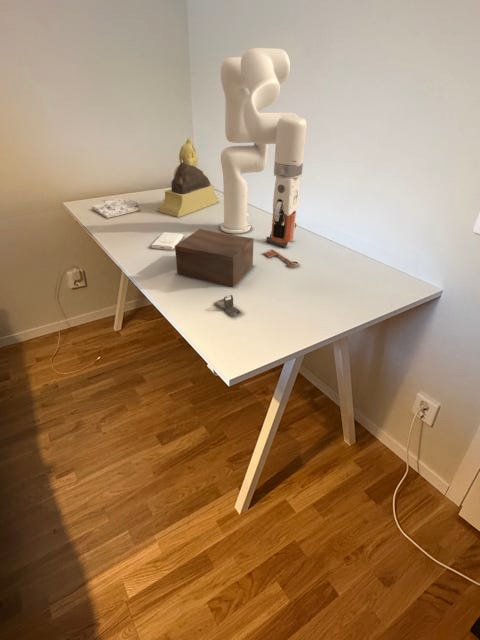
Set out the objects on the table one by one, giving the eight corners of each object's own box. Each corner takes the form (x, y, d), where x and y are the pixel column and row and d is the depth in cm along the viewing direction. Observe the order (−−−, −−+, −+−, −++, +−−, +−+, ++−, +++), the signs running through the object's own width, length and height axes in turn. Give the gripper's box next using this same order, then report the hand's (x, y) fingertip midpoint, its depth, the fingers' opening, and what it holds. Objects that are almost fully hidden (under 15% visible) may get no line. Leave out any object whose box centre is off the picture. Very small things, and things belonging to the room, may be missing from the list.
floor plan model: (120, 197, 194) (119, 193, 193) (145, 209, 178) (144, 205, 177) (84, 204, 184) (83, 200, 183) (107, 218, 168) (106, 214, 167)
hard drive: (183, 237, 151) (172, 250, 141) (163, 236, 152) (151, 248, 142) (183, 233, 150) (172, 246, 140) (163, 232, 151) (151, 244, 141)
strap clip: (215, 304, 110) (214, 291, 107) (224, 300, 111) (223, 288, 109) (232, 317, 104) (232, 304, 102) (241, 313, 106) (241, 300, 103)
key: (262, 254, 139) (286, 270, 128) (262, 251, 139) (286, 267, 128) (276, 249, 141) (300, 265, 131) (276, 247, 141) (300, 263, 130)
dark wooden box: (200, 255, 137) (199, 228, 131) (252, 266, 130) (253, 238, 125) (177, 274, 125) (174, 245, 119) (233, 287, 118) (233, 257, 113)
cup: (275, 232, 117) (277, 206, 112) (296, 236, 115) (298, 209, 110) (268, 240, 112) (269, 213, 107) (289, 244, 110) (292, 216, 105)
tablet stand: (265, 242, 148) (266, 221, 143) (278, 236, 153) (279, 216, 148) (283, 248, 143) (285, 226, 138) (296, 242, 148) (298, 221, 143)
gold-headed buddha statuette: (198, 197, 196) (195, 132, 179) (218, 202, 190) (216, 135, 173) (158, 211, 177) (150, 140, 160) (178, 217, 171) (172, 143, 154)
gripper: (291, 178, 94) (285, 246, 105) (310, 164, 108) (303, 225, 118) (263, 175, 97) (260, 241, 107) (284, 161, 110) (280, 221, 120)
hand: (282, 232), depth 112 cm, fingers closed on cup, 6 cm apart
